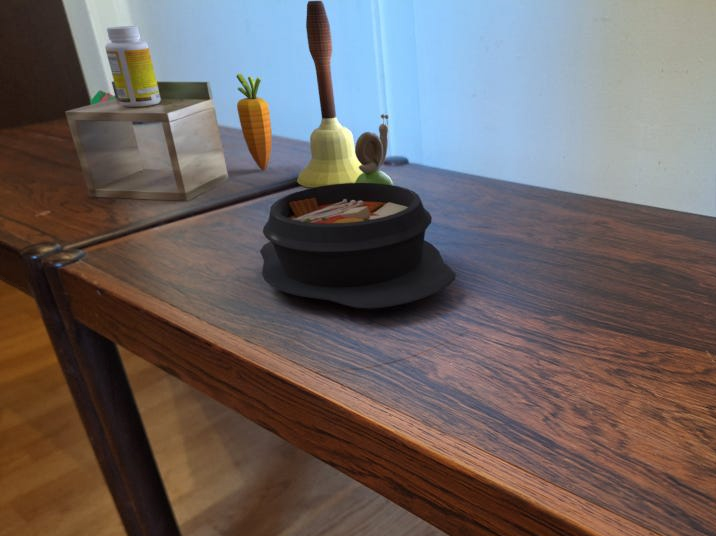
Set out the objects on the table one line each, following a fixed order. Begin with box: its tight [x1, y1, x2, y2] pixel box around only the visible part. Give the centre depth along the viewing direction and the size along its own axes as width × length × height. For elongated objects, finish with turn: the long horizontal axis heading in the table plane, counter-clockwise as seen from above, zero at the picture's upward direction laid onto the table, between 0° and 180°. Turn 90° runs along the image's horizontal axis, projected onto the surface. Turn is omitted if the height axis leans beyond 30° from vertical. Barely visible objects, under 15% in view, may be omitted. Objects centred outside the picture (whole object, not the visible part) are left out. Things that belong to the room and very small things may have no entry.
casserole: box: [259, 183, 457, 310], centre depth 72 cm, size 25×19×8 cm
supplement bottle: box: [104, 25, 161, 107], centre depth 99 cm, size 6×6×10 cm
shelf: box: [64, 80, 229, 202], centre depth 104 cm, size 16×12×15 cm
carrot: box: [236, 73, 272, 172], centre depth 112 cm, size 5×5×15 cm
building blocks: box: [90, 89, 144, 124], centre depth 155 cm, size 8×8×12 cm
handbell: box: [296, 0, 363, 188], centre depth 105 cm, size 12×12×25 cm
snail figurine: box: [354, 113, 395, 186], centre depth 93 cm, size 5×6×12 cm
